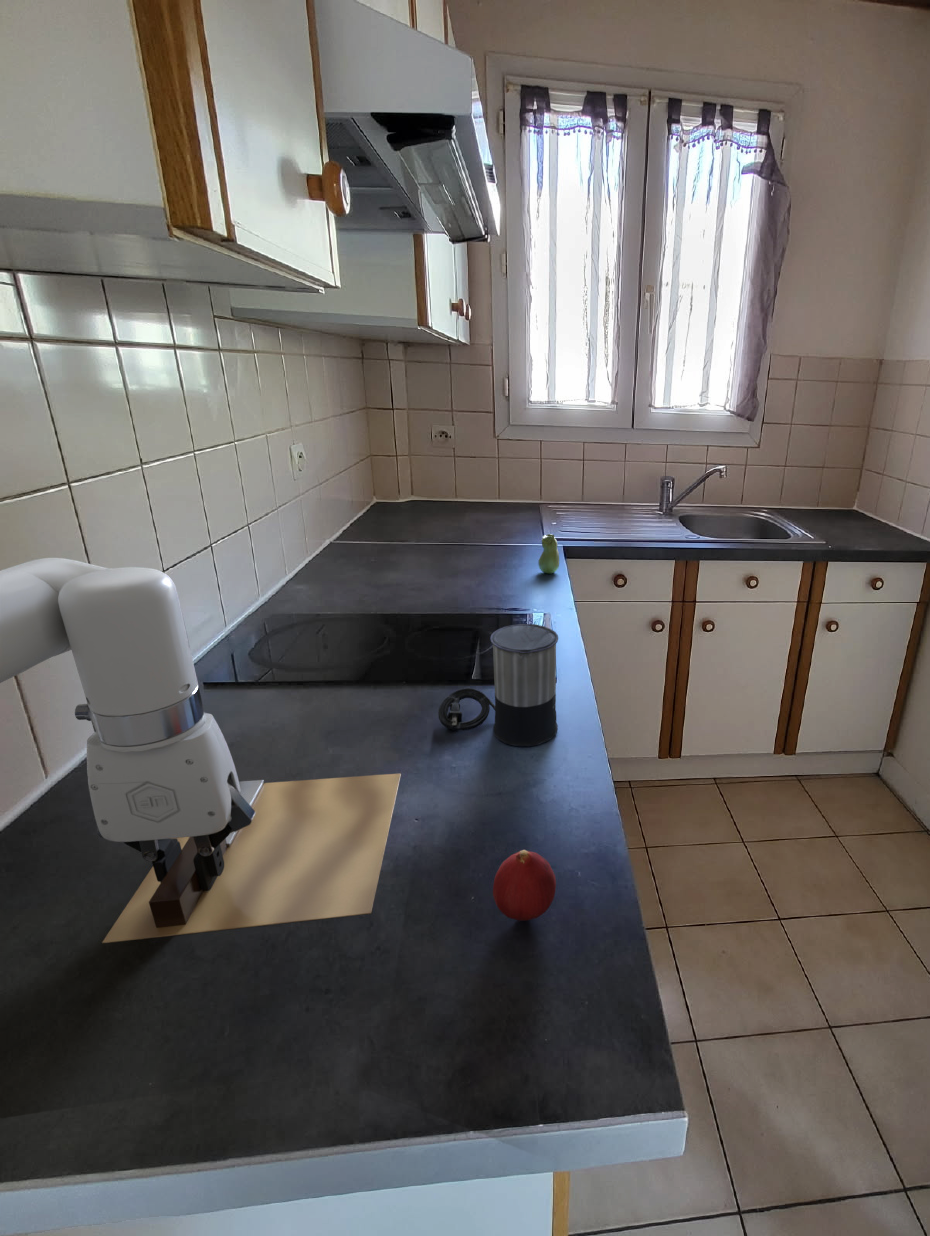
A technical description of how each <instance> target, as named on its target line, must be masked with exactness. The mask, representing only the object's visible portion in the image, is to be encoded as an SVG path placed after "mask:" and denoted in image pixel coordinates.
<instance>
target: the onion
mask: <svg viewBox="0 0 930 1236" xmlns="http://www.w3.org/2000/svg"><path fill="white" fill-rule="evenodd" d="M492 885H493V886H492V896H493V900H494V903H495V905H496V907H497V909H498V910H499V911H500V912H501V914H503V915H504V916H505V917H507V918H509V919H512V920H515V921H531V920H535V919H537V918H540V916H542V915H543V914H545V913H546V912H547V911H548V909H549V908H550V906H551V905H552V903H553V901H554V900H555V895H556V888H557V879H556V875H555V872H554V870H553V868H552V866H551V863H550V862H549V861H548V860H547V859H546V858H545V857H543V856H542V855H540V854H539V853H538V852H535V851H531V850H526V849H521V850H519V851H517V852H515V853H513V854H511V855H510V856H508V857H507V858H505V860H503V862H502V863H501V864H500V866H499V868H498V870H497V871H496V873H495V876H494V879H493V884H492Z"/></svg>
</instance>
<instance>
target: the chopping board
mask: <svg viewBox="0 0 930 1236" xmlns="http://www.w3.org/2000/svg"><path fill="white" fill-rule="evenodd" d="M401 776H402V773H401V772H400V773H399V772H398V773H387V774H373V775H371V774H370V775H359V776H345V777H344V776H343V777H332V778H331V777H330V778H317V779H303V780H290V781H276V782H264V784H263V786H262V787H261V789H260V791H259V793H258V795H257V797H256V799H255V800H254V802H253V804H252V806H251V807H252V808H253V809H254V811H255V812H256V815H255V817H254V819H253V821H252V823H251V824H250V825H249V826H246V827H244V828H242V829H240V830H238V832H237V834H236V836H235V838H234V840H233V842H232V843H231V845H230V846H228V847H227V849H226V851H225V853H224V855H223V859H224V870H223V872H222V874H221V875H220V876H218V877H217V878H216V880H215V882H214V884H213V886H212V888H211V890H210V891H204V892H203V894H202V896H201V897H200V899H199V901H198V903H197V905H196V907H195V909H194V910H193V912H192V914H191V916H190V918H189V920H188V922H187V923H186V925H178V926H169V927H160V928H156V925H155V922H154V918H153V915H152V912H151V908H150V905H149V901H150V899H151V898H152V896H153V895H154V893H155V891H156V890H157V888H158V887H159V885H160V883H161V882H158V881H157V878H156V874H155V871H154V867H153V866H152V867H150V870H149V871H148V873H147V874H146V876H145V877H144V878H143V881H142V882H141V883H140V885H139V886H138V888H137V889H136V891H135V892H134V894H133V895H132V897H131V898H130V899H129V901H128V902H127V904H126V906H125V907H124V909H123V910H122V911H121V913H120V915H119V916H118V918H117V919H116V920H115V922H114V924H113V925H112V927H111V928H110V930H109V931H108V933H107V934H106V935H105V937H104V939H103V940H102V942H101V943H102V944H108V943H118V942H126V941H134V940H144V939H145V940H146V939H154V938H162V937H163V938H164V937H171V936H172V937H173V936H179V935H190V934H199V933H208V932H218V931H225V930H226V931H227V930H234V929H235V930H236V929H243V928H254V927H260V926H261V927H263V926H271V925H280V924H287V923H288V924H289V923H290V924H291V923H298V922H299V923H300V922H307V921H315V920H316V921H317V920H324V919H325V920H327V919H334V918H343V917H353V916H362V915H371V914H372V912H373V908H374V903H375V899H376V898H375V897H376V893H377V888H378V884H379V878H380V874H381V870H382V865H383V862H384V861H383V860H384V856H385V851H386V846H387V841H388V837H389V833H390V832H389V831H390V827H391V823H392V818H393V814H394V809H395V806H396V805H395V804H396V799H397V795H398V790H399V785H400V782H401ZM170 839H175V838H170ZM188 839H189V837H182V838H177V840H178V842H180V846H181V850H182V849H183V847H184V845H185V844H186V842H187V841H188Z"/></svg>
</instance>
